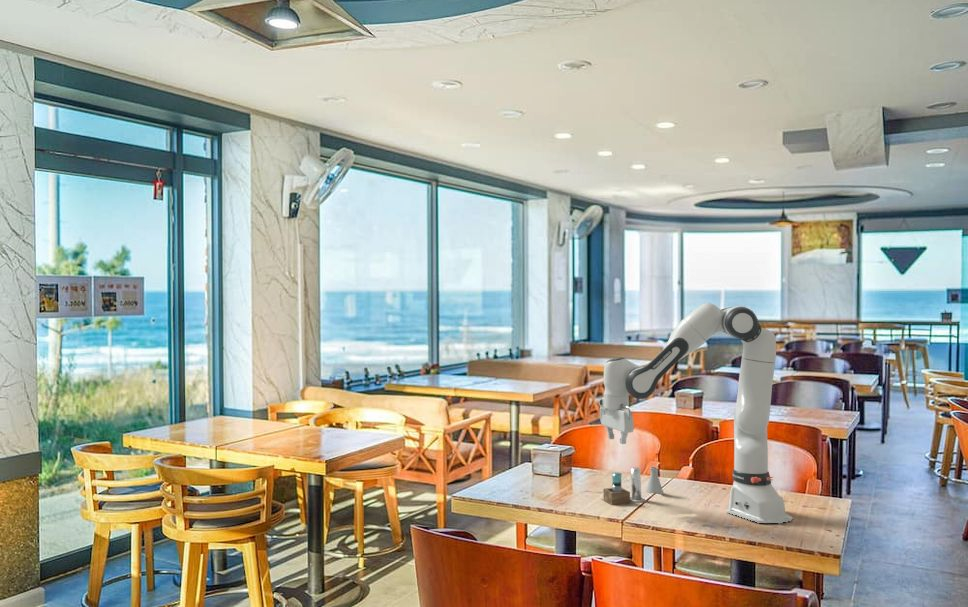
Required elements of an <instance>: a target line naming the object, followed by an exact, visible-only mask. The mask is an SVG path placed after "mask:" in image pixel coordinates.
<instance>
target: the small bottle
mask: <svg viewBox="0 0 968 607" xmlns="http://www.w3.org/2000/svg"><path fill="white" fill-rule="evenodd" d="M611 475H612V486H611V488H612V492H613V493H614V492H621V488H622V472H621V473H620V472H613V473H612V474H611Z"/></svg>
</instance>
